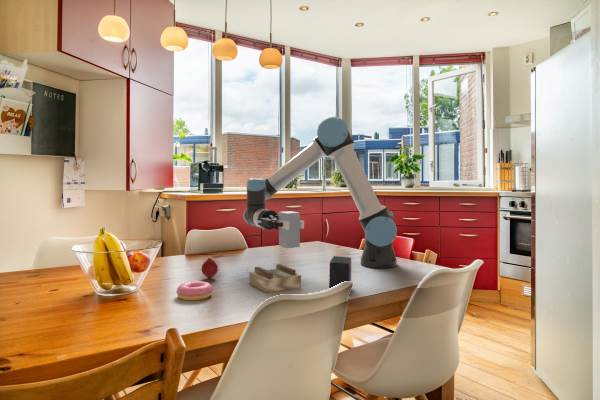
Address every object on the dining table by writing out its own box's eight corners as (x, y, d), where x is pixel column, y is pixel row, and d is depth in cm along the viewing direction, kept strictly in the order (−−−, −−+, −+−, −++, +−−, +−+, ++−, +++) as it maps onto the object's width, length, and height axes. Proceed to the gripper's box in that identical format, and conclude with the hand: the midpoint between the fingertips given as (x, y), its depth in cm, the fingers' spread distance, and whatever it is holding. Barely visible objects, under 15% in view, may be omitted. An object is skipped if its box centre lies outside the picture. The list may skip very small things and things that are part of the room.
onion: (221, 277, 148) (220, 256, 147) (211, 281, 143) (211, 258, 142) (208, 276, 150) (208, 254, 150) (198, 279, 145) (198, 257, 145)
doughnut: (183, 291, 130) (183, 279, 130) (216, 292, 129) (216, 279, 129) (171, 302, 119) (171, 288, 119) (208, 302, 119) (207, 288, 118)
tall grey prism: (291, 244, 145) (291, 211, 144) (299, 246, 139) (299, 212, 138) (279, 245, 142) (278, 211, 141) (287, 248, 137) (286, 213, 136)
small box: (349, 296, 124) (349, 262, 124) (328, 295, 126) (328, 262, 125) (351, 287, 135) (352, 256, 134) (332, 286, 136) (332, 255, 136)
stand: (282, 278, 146) (282, 263, 146) (300, 287, 135) (301, 270, 135) (249, 283, 139) (249, 267, 139) (266, 292, 128) (266, 274, 128)
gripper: (286, 227, 161) (318, 234, 141) (244, 229, 152) (272, 238, 132) (286, 208, 160) (318, 213, 140) (244, 210, 151) (272, 215, 131)
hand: (295, 225), depth 136 cm, fingers closed on tall grey prism, 5 cm apart
